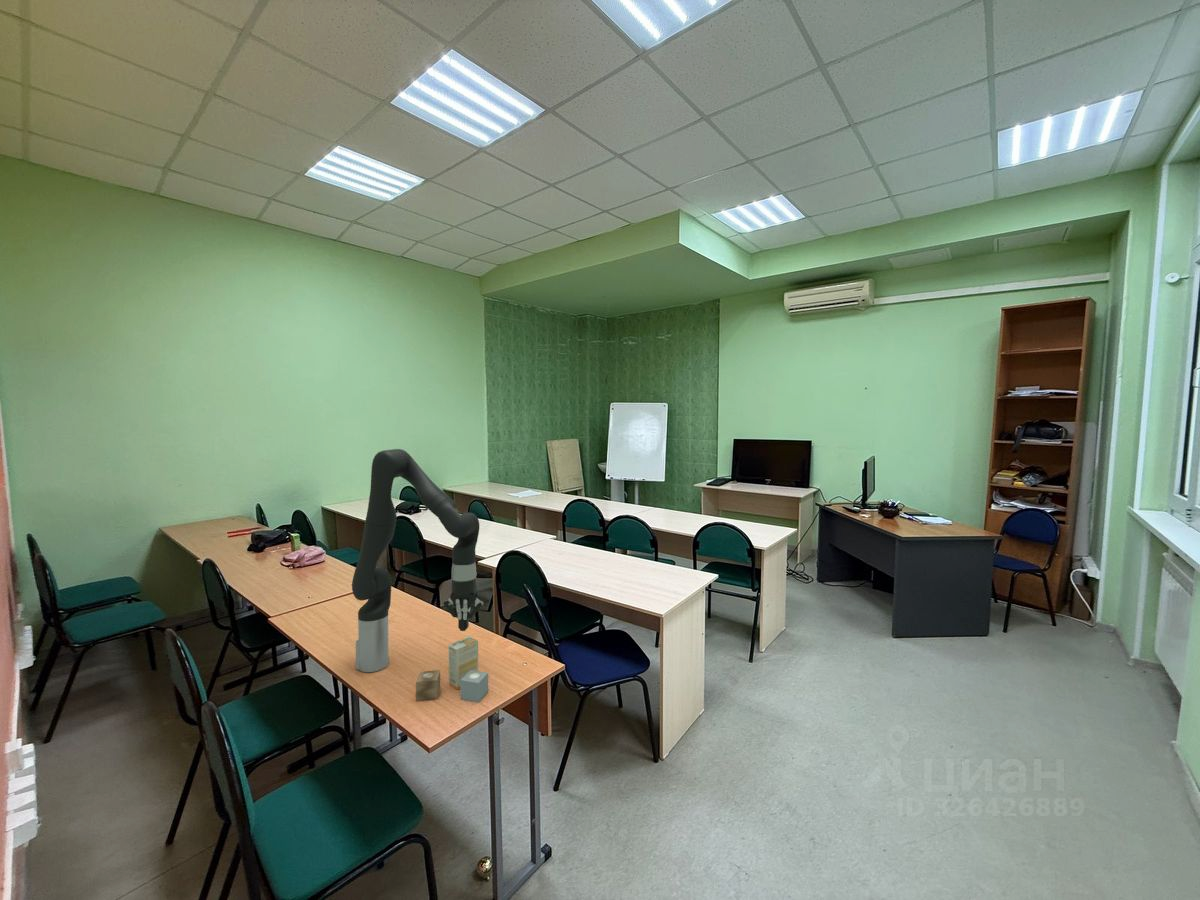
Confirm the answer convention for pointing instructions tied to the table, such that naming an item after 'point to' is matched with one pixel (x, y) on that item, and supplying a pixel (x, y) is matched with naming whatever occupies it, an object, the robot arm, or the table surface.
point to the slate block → (474, 686)
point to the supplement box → (462, 659)
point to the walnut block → (428, 685)
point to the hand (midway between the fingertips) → (463, 629)
